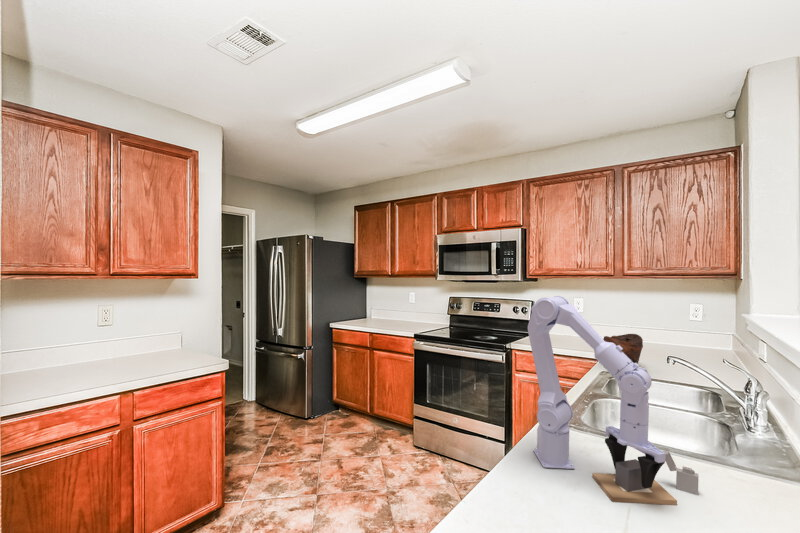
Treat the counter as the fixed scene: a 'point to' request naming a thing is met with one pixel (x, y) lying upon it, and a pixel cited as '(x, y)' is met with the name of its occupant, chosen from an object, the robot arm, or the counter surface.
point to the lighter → (683, 476)
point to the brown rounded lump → (628, 345)
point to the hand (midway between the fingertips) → (632, 477)
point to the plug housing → (628, 475)
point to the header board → (633, 492)
